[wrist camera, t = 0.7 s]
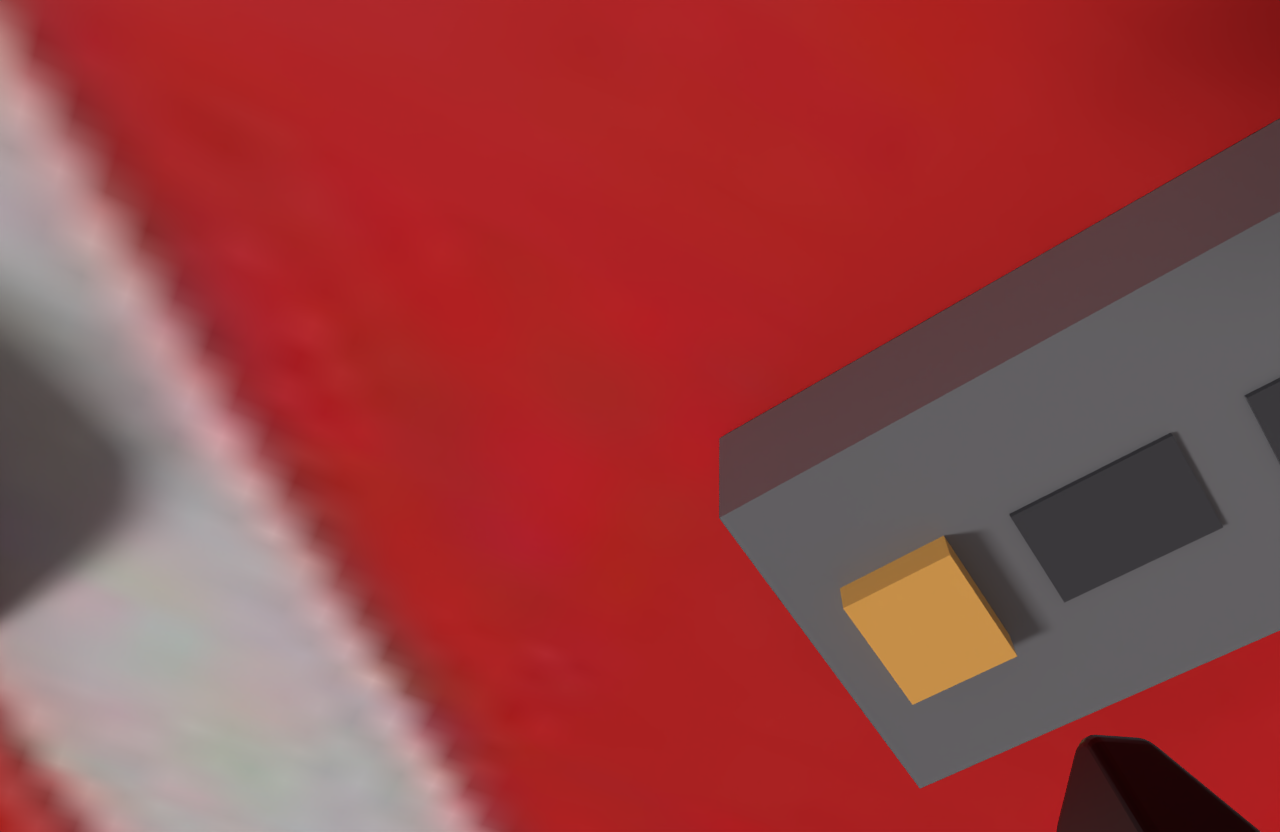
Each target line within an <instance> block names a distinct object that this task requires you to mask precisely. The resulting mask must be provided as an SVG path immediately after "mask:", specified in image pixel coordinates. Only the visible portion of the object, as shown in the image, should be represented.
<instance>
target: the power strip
mask: <svg viewBox="0 0 1280 832" xmlns="http://www.w3.org/2000/svg"><path fill="white" fill-rule="evenodd" d="M719 518H720V520H721V521H722V522H723V524H724V525H725V526H726V528H727V529H728V530H729V532H730V533H731V534H732V536H733V537H734V538H735V540H736V541H737V543H738V544H739V545H740V547H741V548H742V549H743V551H744V552H745V553H746V555H747V556H748V557H749V559H750V560H751V561H752V563H753V564H754V565H755V567H756V568H757V569H758V571H759V572H760V574H761V575H762V576H763V578H764V579H765V580H766V582H767V583H768V584H769V586H770V587H771V588H772V590H773V591H774V592H775V594H776V595H777V596H778V598H779V599H780V600H781V602H782V603H783V604H784V606H785V607H786V609H787V610H788V611H789V613H790V614H791V615H792V617H793V618H794V619H795V621H796V622H797V623H798V625H799V626H800V627H801V629H802V630H803V631H804V633H805V634H806V635H807V637H808V638H809V640H810V641H811V642H812V644H813V645H814V646H815V648H816V649H817V650H818V652H819V653H820V654H821V656H822V657H823V658H824V660H825V661H826V662H827V664H828V665H829V666H830V668H831V669H832V671H833V672H834V673H835V675H836V676H837V677H838V679H839V680H840V681H841V683H842V684H843V685H844V687H845V688H846V689H847V691H848V692H849V693H850V695H851V696H852V697H853V699H854V700H855V702H856V703H857V704H858V706H859V707H860V708H861V710H862V711H863V712H864V714H865V715H866V716H867V718H868V719H869V720H870V722H871V723H872V724H873V726H874V727H875V728H876V730H877V731H878V733H879V734H880V735H881V737H882V738H883V739H884V741H885V742H886V743H887V745H888V746H889V747H890V749H891V750H892V751H893V753H894V754H895V755H896V757H897V758H898V759H899V761H900V762H901V764H902V765H903V766H904V768H905V769H906V770H907V772H908V773H909V774H910V776H911V777H912V778H913V780H914V781H915V782H916V784H917V785H918V786H919V788H922V787H924V786H927V785H929V784H931V783H934V782H936V781H938V780H940V779H943V778H945V777H947V776H950V775H952V774H954V773H956V772H959V771H961V770H963V769H965V768H968V767H970V766H972V765H975V764H977V763H979V762H981V761H984V760H986V759H988V758H990V757H993V756H995V755H997V754H1000V753H1002V752H1004V751H1006V750H1009V749H1011V748H1013V747H1015V746H1018V745H1020V744H1022V743H1025V742H1027V741H1029V740H1031V739H1034V738H1036V737H1038V736H1041V735H1043V734H1045V733H1047V732H1050V731H1052V730H1054V729H1056V728H1059V727H1061V726H1063V725H1066V724H1068V723H1070V722H1072V721H1075V720H1077V719H1079V718H1081V717H1084V716H1086V715H1088V714H1091V713H1093V712H1095V711H1097V710H1100V709H1102V708H1104V707H1106V706H1109V705H1111V704H1113V703H1116V702H1118V701H1120V700H1122V699H1125V698H1127V697H1129V696H1132V695H1134V694H1136V693H1138V692H1141V691H1143V690H1145V689H1147V688H1150V687H1152V686H1154V685H1157V684H1159V683H1161V682H1163V681H1166V680H1168V679H1170V678H1172V677H1175V676H1177V675H1179V674H1182V673H1184V672H1186V671H1188V670H1191V669H1193V668H1195V667H1198V666H1200V665H1202V664H1204V663H1207V662H1209V661H1211V660H1213V659H1216V658H1218V657H1220V656H1223V655H1225V654H1227V653H1229V652H1232V651H1234V650H1236V649H1238V648H1241V647H1243V646H1245V645H1248V644H1250V643H1252V642H1254V641H1257V640H1259V639H1261V638H1263V637H1266V636H1268V635H1270V634H1273V633H1275V632H1277V631H1279V630H1280V119H1278V120H1276V121H1275V122H1273V123H1271V124H1269V125H1268V126H1266V127H1264V128H1262V129H1261V130H1259V131H1257V132H1255V133H1254V134H1252V135H1250V136H1248V137H1247V138H1245V139H1243V140H1241V141H1240V142H1238V143H1236V144H1234V145H1233V146H1231V147H1229V148H1227V149H1226V150H1224V151H1222V152H1220V153H1219V154H1217V155H1215V156H1213V157H1212V158H1210V159H1208V160H1206V161H1204V162H1203V163H1201V164H1199V165H1197V166H1196V167H1194V168H1192V169H1190V170H1189V171H1187V172H1185V173H1183V174H1182V175H1180V176H1178V177H1176V178H1175V179H1173V180H1171V181H1169V182H1168V183H1166V184H1164V185H1162V186H1161V187H1159V188H1157V189H1155V190H1154V191H1152V192H1150V193H1148V194H1147V195H1145V196H1143V197H1141V198H1140V199H1138V200H1136V201H1134V202H1133V203H1131V204H1129V205H1127V206H1126V207H1124V208H1122V209H1120V210H1119V211H1117V212H1115V213H1113V214H1112V215H1110V216H1108V217H1106V218H1105V219H1103V220H1101V221H1099V222H1098V223H1096V224H1094V225H1092V226H1091V227H1089V228H1087V229H1085V230H1084V231H1082V232H1080V233H1078V234H1077V235H1075V236H1073V237H1071V238H1070V239H1068V240H1066V241H1064V242H1063V243H1061V244H1059V245H1057V246H1056V247H1054V248H1052V249H1050V250H1049V251H1047V252H1045V253H1043V254H1042V255H1040V256H1038V257H1036V258H1035V259H1033V260H1031V261H1029V262H1027V263H1026V264H1024V265H1022V266H1020V267H1019V268H1017V269H1015V270H1013V271H1012V272H1010V273H1008V274H1006V275H1005V276H1003V277H1001V278H999V279H998V280H996V281H994V282H992V283H991V284H989V285H987V286H985V287H984V288H982V289H980V290H978V291H977V292H975V293H973V294H971V295H970V296H968V297H966V298H964V299H963V300H961V301H959V302H957V303H956V304H954V305H952V306H950V307H949V308H947V309H945V310H943V311H942V312H940V313H938V314H936V315H935V316H933V317H931V318H929V319H928V320H926V321H924V322H922V323H921V324H919V325H917V326H915V327H914V328H912V329H910V330H908V331H907V332H905V333H903V334H901V335H900V336H898V337H896V338H894V339H893V340H891V341H889V342H887V343H886V344H884V345H882V346H880V347H879V348H877V349H875V350H873V351H872V352H870V353H868V354H866V355H865V356H863V357H861V358H859V359H857V360H856V361H854V362H852V363H850V364H849V365H847V366H845V367H843V368H842V369H840V370H838V371H836V372H835V373H833V374H831V375H829V376H828V377H826V378H824V379H822V380H821V381H819V382H817V383H815V384H814V385H812V386H810V387H808V388H807V389H805V390H803V391H801V392H800V393H798V394H796V395H794V396H793V397H791V398H789V399H787V400H786V401H784V402H782V403H780V404H779V405H777V406H775V407H773V408H772V409H770V410H768V411H766V412H765V413H763V414H761V415H759V416H758V417H756V418H754V419H752V420H751V421H749V422H747V423H745V424H744V425H742V426H740V427H738V428H737V429H735V430H733V431H731V432H730V433H728V434H726V435H724V436H723V437H721V438H720V447H719Z"/></svg>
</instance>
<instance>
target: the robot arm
mask: <svg viewBox="0 0 1280 832" xmlns="http://www.w3.org/2000/svg"><path fill="white" fill-rule="evenodd" d="M1057 832H1260V831H1259V830H1258V829H1257V828H1255V827H1254V826H1253V825H1252V824H1251V823H1249V822H1248V821H1247V820H1246V819H1244V818H1243V817H1242V816H1241V815H1240V814H1238V813H1237V812H1236V811H1235V810H1233V809H1232V808H1231V807H1230V806H1229V805H1227V804H1226V803H1225V802H1224V801H1223V800H1221V799H1220V798H1219V797H1218V796H1216V795H1215V794H1214V793H1213V792H1212V791H1210V790H1209V789H1208V788H1207V787H1205V786H1204V785H1203V784H1202V783H1201V782H1199V781H1198V780H1197V779H1196V778H1194V777H1193V776H1192V775H1191V774H1190V773H1188V772H1187V771H1186V770H1185V769H1183V768H1182V767H1181V766H1180V765H1179V764H1177V763H1176V762H1175V761H1174V760H1173V759H1171V758H1170V757H1169V756H1168V755H1166V754H1165V753H1164V752H1163V751H1162V750H1160V749H1159V748H1158V747H1157V746H1155V745H1154V744H1152V743H1151V742H1149V741H1147V740H1145V739H1141V738H1133V737H1118V736H1103V735H1090V736H1088V737H1086V738H1085V739H1083V740H1082V741H1081V743H1080V744H1079V746H1078V748H1077V750H1076V753H1075V756H1074V760H1073V764H1072V768H1071V772H1070V776H1069V781H1068V785H1067V789H1066V793H1065V797H1064V801H1063V805H1062V809H1061V813H1060V817H1059V821H1058V826H1057Z"/></svg>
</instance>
